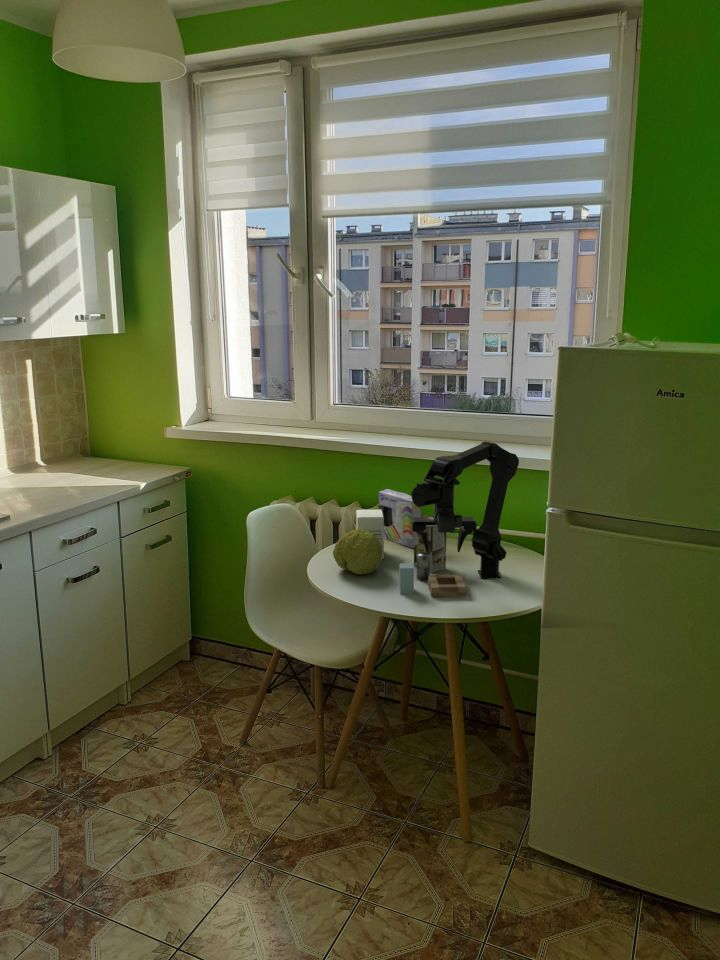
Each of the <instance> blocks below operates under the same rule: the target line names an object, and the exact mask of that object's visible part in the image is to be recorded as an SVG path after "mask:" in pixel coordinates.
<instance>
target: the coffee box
mask: <svg viewBox="0 0 720 960" xmlns="http://www.w3.org/2000/svg"><path fill="white" fill-rule="evenodd" d="M421 517H424V518H425V521H434V516H431V515H428V514H426V515H421ZM426 531H427V540H428V553H430V573H437V572H439V571H442V570H446V569H447V568H446V567H447V566H446V564H447V532H444V533H440V532H438V527H426ZM419 552H427V551H426V548H425V545H424V541H423V539H422V537H421V535H420V534H417V533H416V532H414V548H413V566H414V567H416V568H417V553H419Z"/></svg>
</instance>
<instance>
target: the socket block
mask: <svg viewBox="0 0 720 960" xmlns="http://www.w3.org/2000/svg"><path fill="white" fill-rule="evenodd" d="M427 585H428V589H429V592H430V597H431V598H464V597H466V596H467V595H466V594H467V593H466V592H467V586H466V583H465V582H464V579H463V577H462V575H461V574H430V575H428V581H427Z"/></svg>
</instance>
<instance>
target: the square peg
mask: <svg viewBox="0 0 720 960" xmlns="http://www.w3.org/2000/svg"><path fill="white" fill-rule="evenodd" d="M398 571H399V573H398V575H399V576H398V579H399V580H398V581H399V582H398V583H399V584H398V585H399V594H401V595H407V594H410V595H411V594H414V593H415V592H414V591H415V587H414V586H415V585H414V584H415V583H414V582H415V566H414V562H413V563H399V570H398Z"/></svg>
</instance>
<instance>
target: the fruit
mask: <svg viewBox="0 0 720 960" xmlns="http://www.w3.org/2000/svg"><path fill="white" fill-rule="evenodd" d="M332 555H333V558H334V561H335V562H336V564H337V566H338V567H339V568H341V569H342V570H344V571H346V572H352V573H353V574H355V575H359V576H360V575H369V574H371V573H372V572H374V571H375V570H376V569H377V568H378V567H379V565H381V562H382V560H383V559H382V546H381V544H380V541H379V539H378V538H377V537H376V536H375V535H374V534H373V533H371V532H369V531H367V530H364V529H356V528H355V529H353V530H351V531H348V532H346V533H344V534H342V536H341V537H340V538H339V539H338V540H337V541H336V543H335V545H334V547H333V550H332Z"/></svg>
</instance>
